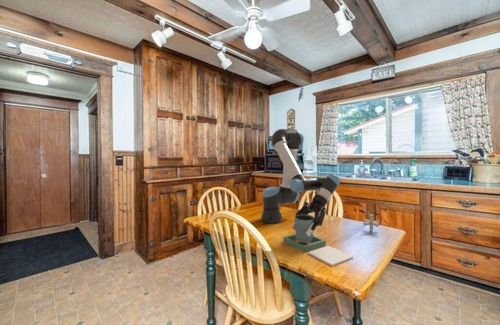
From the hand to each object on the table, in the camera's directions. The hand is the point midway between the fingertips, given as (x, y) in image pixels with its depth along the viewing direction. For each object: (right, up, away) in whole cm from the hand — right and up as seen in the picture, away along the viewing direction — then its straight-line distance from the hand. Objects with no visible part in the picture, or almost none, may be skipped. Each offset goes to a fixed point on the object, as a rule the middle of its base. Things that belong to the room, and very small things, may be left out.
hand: (300, 231), depth 117 cm
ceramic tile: (+11, -7, -13) cm, 18 cm away
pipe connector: (+47, -6, +19) cm, 51 cm away
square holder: (+3, -7, +2) cm, 8 cm away
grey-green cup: (+3, -5, +2) cm, 6 cm away
